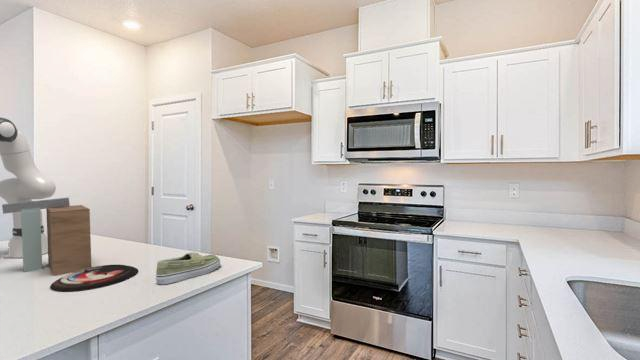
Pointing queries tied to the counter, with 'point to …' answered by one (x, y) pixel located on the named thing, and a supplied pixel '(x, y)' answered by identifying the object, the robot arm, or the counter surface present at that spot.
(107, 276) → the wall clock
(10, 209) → the bar
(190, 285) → the counter surface
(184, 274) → the boat shoe
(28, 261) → the socket post
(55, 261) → the brown wooden block
